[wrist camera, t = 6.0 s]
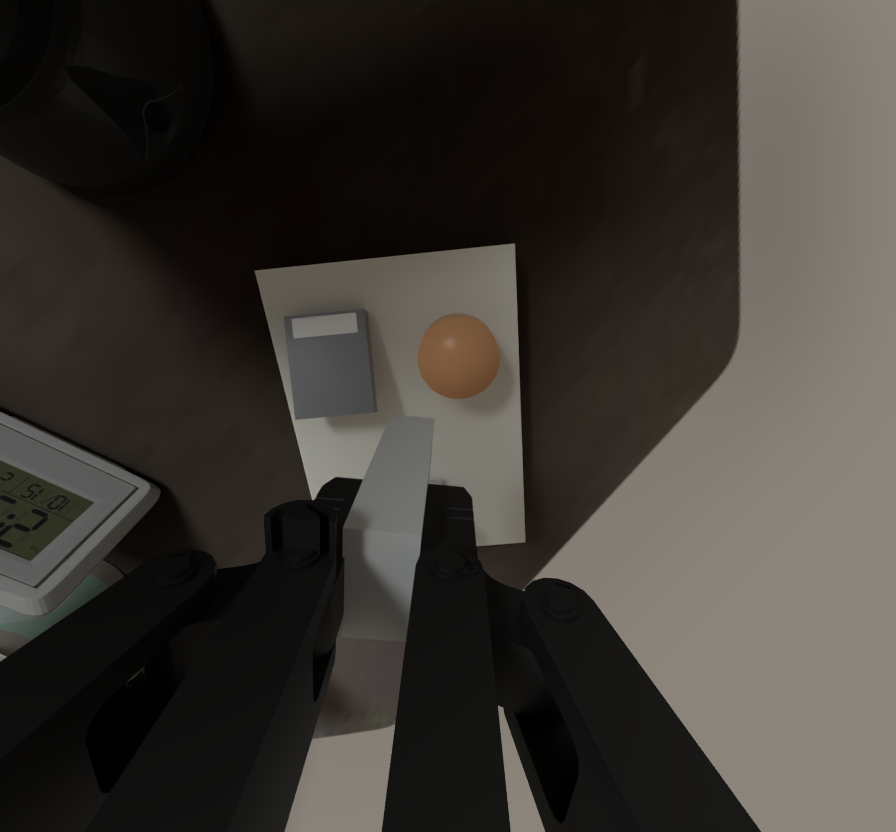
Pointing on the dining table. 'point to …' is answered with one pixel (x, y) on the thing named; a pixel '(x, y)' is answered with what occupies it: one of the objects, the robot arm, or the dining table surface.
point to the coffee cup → (13, 630)
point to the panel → (417, 371)
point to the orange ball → (458, 356)
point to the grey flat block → (330, 364)
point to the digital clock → (58, 515)
